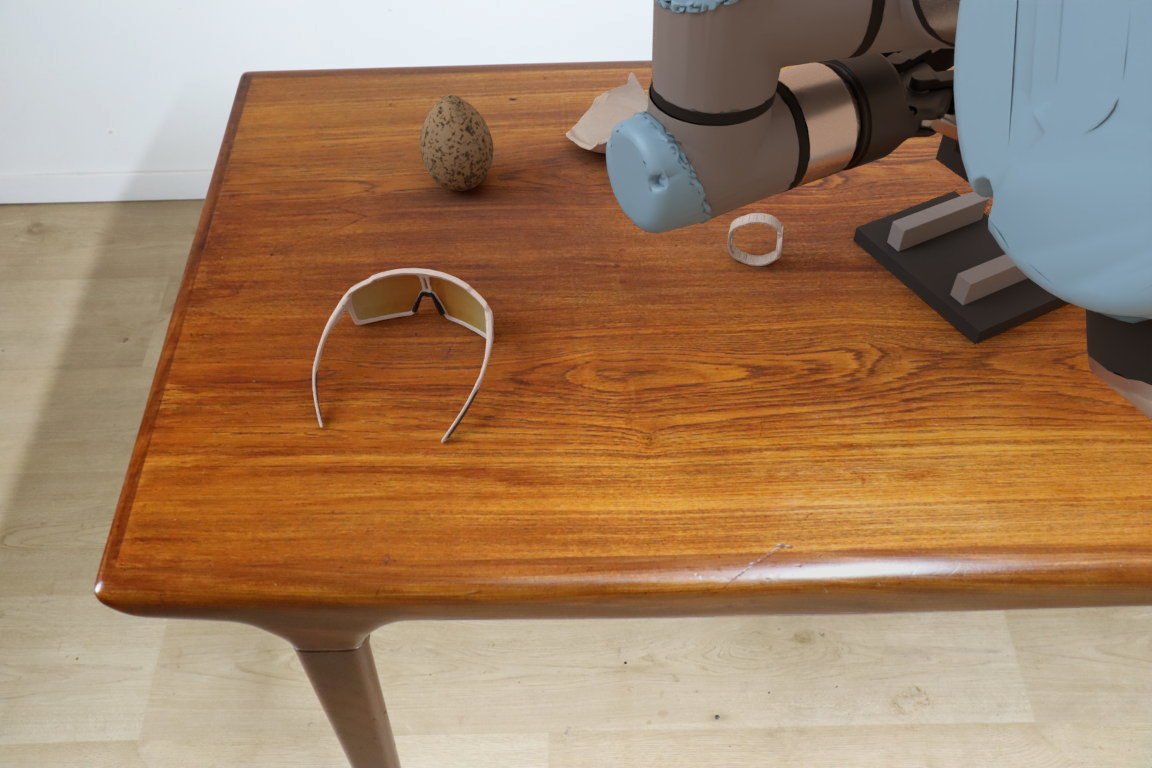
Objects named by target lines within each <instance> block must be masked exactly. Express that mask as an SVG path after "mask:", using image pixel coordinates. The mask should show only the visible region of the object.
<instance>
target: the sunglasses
mask: <svg viewBox="0 0 1152 768" xmlns="http://www.w3.org/2000/svg"><path fill="white" fill-rule="evenodd" d="M423 297H425V298H431V300H432V302H433V304H434V306H435V308H436V310H437V313H438V315H439V316H440V317H441V316H444V317H445V318H446V319H447V320H449V321H451V322H454V323H456V324H459V325H461V326H463V327H465V328H467V329H469V330H471V331H472V332H474V333H476V334H478V335H479V336H481V337H482V338H484V339H485V342H486V343H485V350H484V359H483V362H482V365H481V369H480V372H479V375H478V378H477V380H476V382H475V384H474V386H473V388H472V391H471V392H470V394H469V396H468V398H467V400H466V401H465V404H464V405H463V407H462V409H461V410H460V411H459V413H458V415H457V416H456V418H455V420H454V421H453V423H452V424H451V426H450V427H449V428H448V429H447V431H446V432H445V434H444V435H443V437H442V439H441V441H440V443H441V444H443V443H445V442H447V441H448V440H449V439H450V438H451V436H452V435H453V434H454V432H455V431H456V430H457V428H458V426H459V425H460V423H461V422H462V421H463V419H464V417H465V416H466V414H467V413H468V410H469V409H470V407H471V405H472V403H473V402H474V400H475V398H476V396H477V394H478V393H479V390H480V388H481V386H482V383H483V382H484V378H485V375H486V372H487V368H488V364H489V361H490V358H491V353H492V350H493V345H494V339H495V331H494V328H495V326H494V325H495V323H494V322H495V321H494V320H495V319H494V313H493V310H492V309H491V307H490V305H489V304H488V302H487V301H486V300H485V299H484V297H482V296H481V294H480V293H479V292H477V291H476V290H475V289H474V287H472V286H471V285H470V284H468V283H467V282H465V281H463V280H462V279H460V278H458V277H456V276H453V275H451V274H448V273H446V272H443V271H439V270H434V269H431V268H420V267H419V268H418V267H405V268H396V269H391V270H386V271H382V272H378V273H376V274H375V273H374V274H372V275H371V276H370V277H368V278H367V279H364V280H362V281H360V282H358V283H356V284H354V285H353V286H351V287H349V289H348V290H347V292H346V293H345V294H344V295H343V296H342V298H341V299H340V300H339V302H338V304H337V305H336V307H335V308H334V309H333V312H332V314H331V315H330V317H329V319H328V320H327V322H326V324H325V327H324V328H323V332H322V334H321V337H320V340H319V342H318V345H317V350H316V353H315V357H314V361H313V366H312V374H311V381H312V383H311V384H312V385H311V387H312V397H313V403H314V408H315V412H316V417H317V421H318V424H319V427H320V428H324V421H323V416H322V411H321V408H320V402H319V394H318V373H319V368H320V365H321V359H322V354H323V351H324V347H325V344H326V342H327V339H328V338H329V335H330V334H331V331H332V330H333V329H334V328H335V327H336V326H337V324H338V323H340V321H341V320H342V318H343V316H344V314H345V312H347V311H348V313H349V315H350V317H351V319H352V321H353V323H354V324H355V325H356V326H361V325H366V324H370V323H375V322H379V321H385V320H389V319H395V318H400V317H410V316H412V315H415V314H416V313H417V312H418V310H419V308H420V305H421V301H422V299H423Z"/></svg>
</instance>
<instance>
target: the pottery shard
mask: <svg viewBox="0 0 1152 768" xmlns="http://www.w3.org/2000/svg"><path fill="white" fill-rule="evenodd" d="M647 107H648V94H647V92H646V91H645V89H644V88H643V86H642V84H641V83H640V81H639V80H638V78H637V76H636V75H635V73H634V72H633V71H631V72H630V73H629V75H628V79H627V83H625V84H622V85H620V86H617V87H615V88H614V87H613V88H612V89H609V90H606V91H604V92H603V93H601V94H599V95H597V96H596V97H595V98H594V100H593V102H592V104H591V106H590V107H589V108H588V109H587V110H586V112H585V113H584V114H583V115H582V116H581V117H580V118H579V120H578V122H577V123H576V124H574V125H573V126H572V127H571V128H570V130H568V131H566V133H565V136H566V138H568V139H569V140H570V141H571V142H573V143H574V144H575V145H576V146H578V147H579V148H582V149H584V150H587V151H590V152H594V153H599V154H605V155H606V146H607V142H608V139H609V138H610V137H611V132H612V130H613V127H614V126H615V125H616V124H617V123H619V122H620V121H622V120H624V119H627V118H629V117H632V116H633V114H634V113H638V112H643V111H647Z"/></svg>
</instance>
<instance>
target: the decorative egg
mask: <svg viewBox="0 0 1152 768" xmlns="http://www.w3.org/2000/svg"><path fill="white" fill-rule="evenodd" d="M419 152H420V157H421V161H422V164H423V166H424V168H425V170H426V172H427V174H428V175H429V177H430V178H431V179H432V180H433V181H434V182H435V183H436V184H438V185H439V186H441V187H442V188H445V189H446V190H450V191H454V192H465V191H470V190H471V189H474V188H476V187H477V186H478V185H480V184H481V183H482V182H483V181H484V180H485V179H486V178H487V176H488V174H489V173H490V170H491V167H492V165H493V161H494V140H493V137H492V134H491V131H490V129H489V126H488V124H487V122H486V121H485V119H484V118H483V116H482V115H481V114H480V113H479V111H478V110H477V108H475V107H474V106H473V105H472V104H471V103H470V102H468V101H467V100H465V99H464V98H462V97H461V96H459V95H455V94H448V95H445V96H443V97H441V98H440V99H439V100H438V101H436V103H435V104H434V105H433V106H432V108H431V109H430V111H429V112H428V113H427V115H426V118H425V120H424V122H423V125H422V127H421V131H420V137H419Z"/></svg>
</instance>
